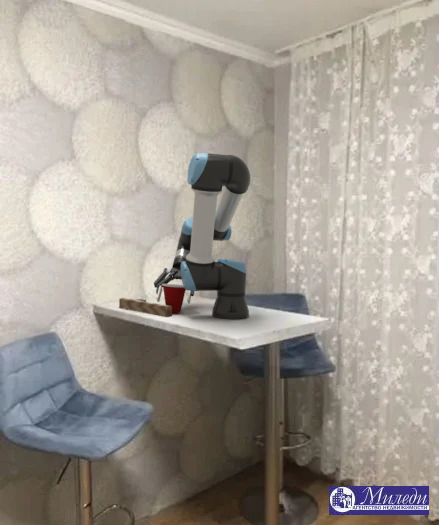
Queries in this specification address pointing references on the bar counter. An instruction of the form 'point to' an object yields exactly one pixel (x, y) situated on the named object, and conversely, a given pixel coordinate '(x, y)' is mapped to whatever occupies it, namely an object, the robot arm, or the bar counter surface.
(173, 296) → the plastic cup
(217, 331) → the bar counter surface
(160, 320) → the bar counter surface
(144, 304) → the rail
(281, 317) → the bar counter surface
